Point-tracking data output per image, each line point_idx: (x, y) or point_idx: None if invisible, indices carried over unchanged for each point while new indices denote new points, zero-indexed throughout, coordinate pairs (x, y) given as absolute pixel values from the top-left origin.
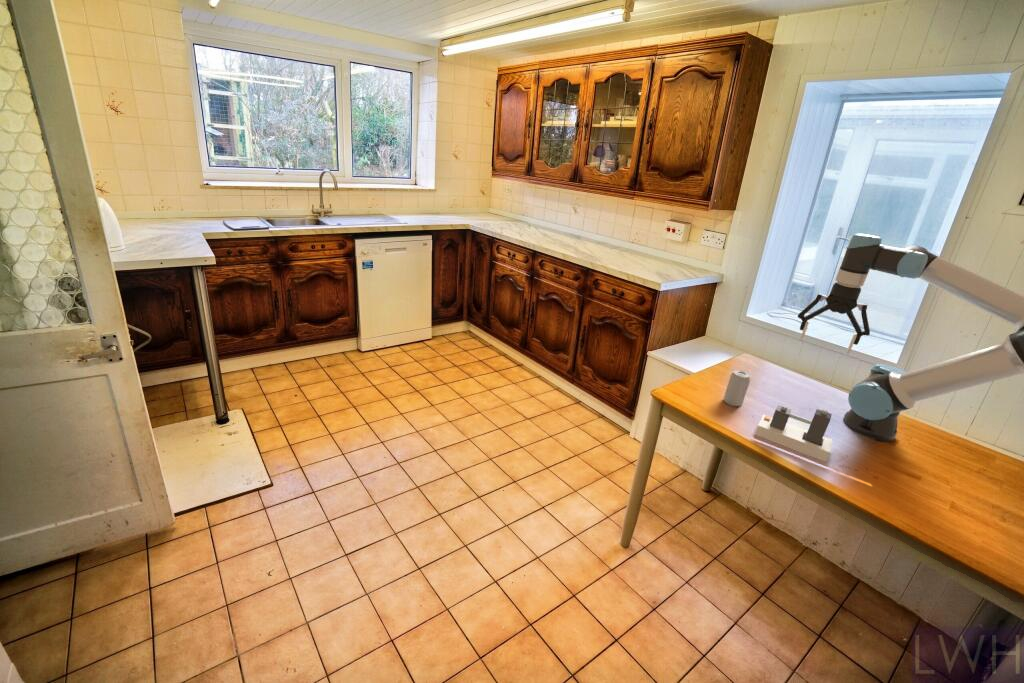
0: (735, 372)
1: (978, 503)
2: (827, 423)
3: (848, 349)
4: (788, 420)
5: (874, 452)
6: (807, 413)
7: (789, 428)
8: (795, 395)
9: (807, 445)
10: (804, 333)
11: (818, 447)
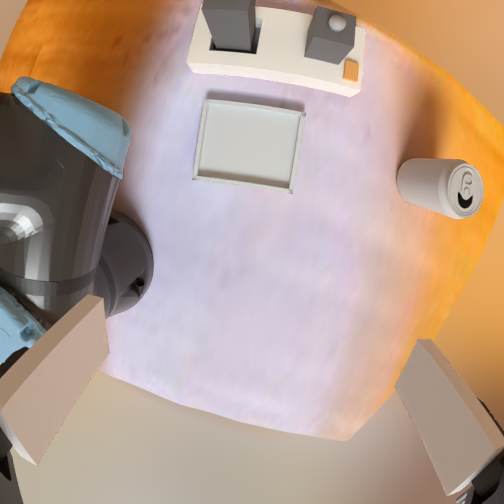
0: (479, 190)
1: None
2: None
3: (83, 313)
4: (284, 156)
5: None
6: (232, 248)
7: (293, 50)
8: (259, 335)
9: None
10: (447, 377)
11: None
